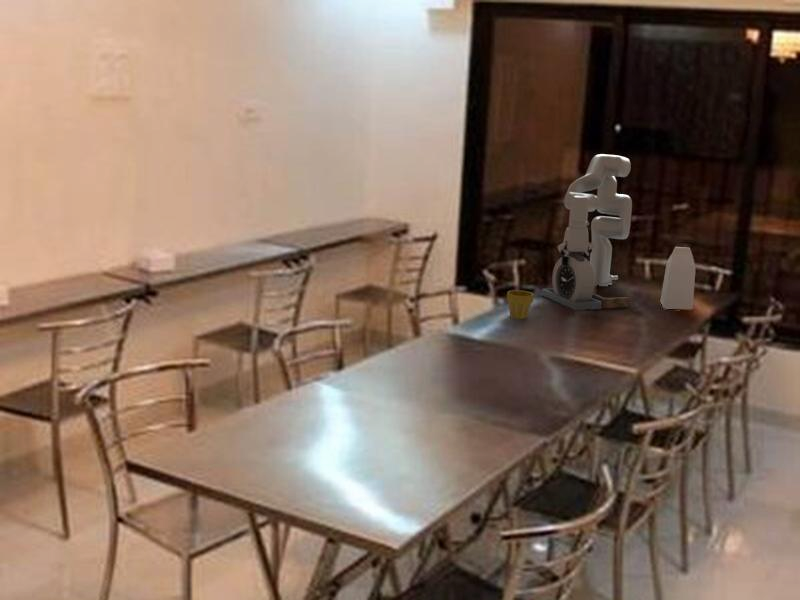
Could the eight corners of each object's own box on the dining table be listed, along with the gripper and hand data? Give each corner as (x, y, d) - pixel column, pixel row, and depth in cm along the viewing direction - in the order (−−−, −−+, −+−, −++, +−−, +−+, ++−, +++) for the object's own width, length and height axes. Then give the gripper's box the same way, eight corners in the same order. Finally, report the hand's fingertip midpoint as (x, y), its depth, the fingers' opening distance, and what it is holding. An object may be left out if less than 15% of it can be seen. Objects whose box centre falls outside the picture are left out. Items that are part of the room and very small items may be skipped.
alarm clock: (550, 294, 463) (554, 249, 459) (565, 293, 467) (569, 249, 462) (577, 305, 445) (582, 259, 440) (592, 305, 448) (597, 258, 443)
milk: (688, 305, 462) (695, 246, 456) (692, 311, 451) (699, 250, 445) (659, 303, 463) (666, 244, 457) (663, 309, 452) (670, 248, 446)
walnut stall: (594, 293, 475) (595, 285, 474) (627, 306, 452) (628, 297, 451) (571, 294, 470) (572, 286, 469) (603, 308, 448) (603, 298, 447)
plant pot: (528, 321, 418) (530, 297, 416) (502, 318, 421) (504, 293, 419) (534, 315, 428) (536, 292, 426) (508, 312, 431) (510, 288, 429)
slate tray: (567, 294, 470) (567, 287, 470) (601, 308, 446) (601, 301, 445) (541, 295, 465) (542, 288, 464) (574, 310, 441) (575, 303, 440)
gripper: (590, 223, 455) (586, 262, 459) (555, 223, 448) (552, 263, 452) (600, 226, 448) (596, 266, 452) (564, 227, 442) (561, 267, 446)
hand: (574, 264), depth 452 cm, fingers open, 9 cm apart
